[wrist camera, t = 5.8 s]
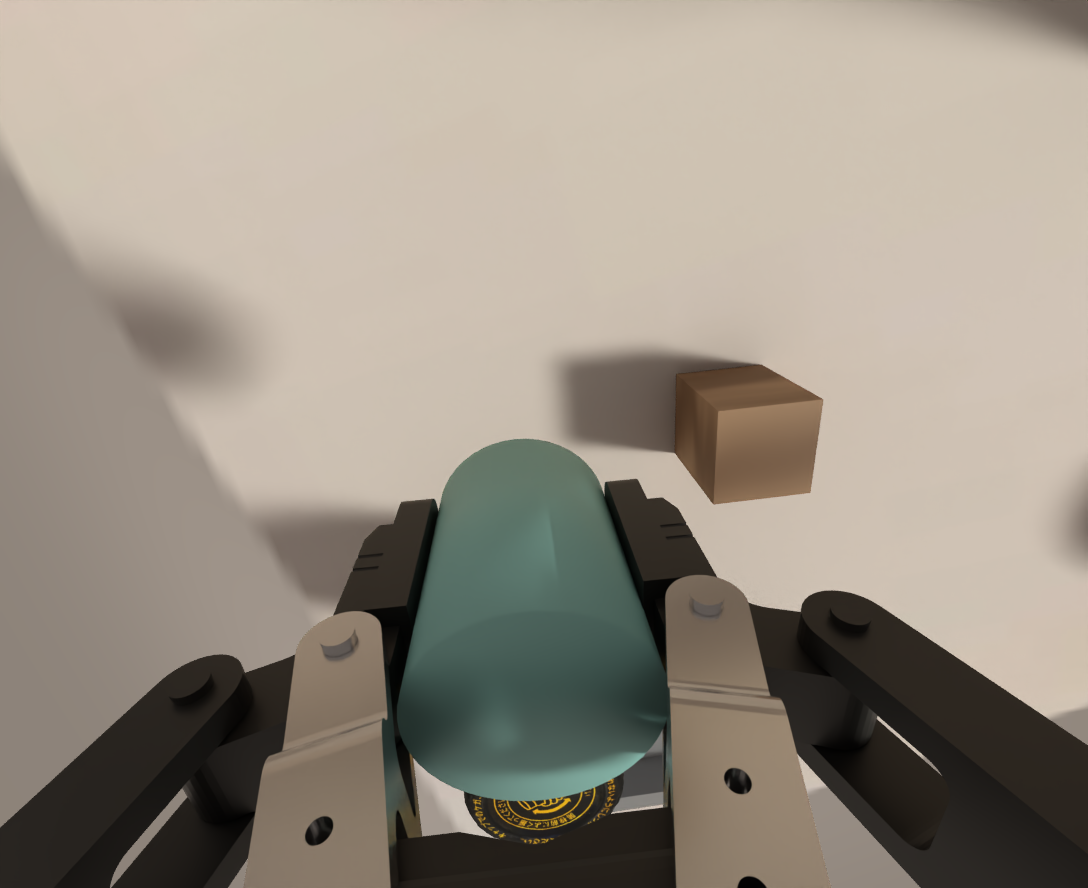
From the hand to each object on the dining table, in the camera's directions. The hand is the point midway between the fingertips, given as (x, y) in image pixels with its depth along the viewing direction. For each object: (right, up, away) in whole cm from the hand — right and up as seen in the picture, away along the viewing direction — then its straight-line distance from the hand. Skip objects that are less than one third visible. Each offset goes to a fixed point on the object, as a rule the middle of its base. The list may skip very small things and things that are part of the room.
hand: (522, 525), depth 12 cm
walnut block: (+9, +4, +13) cm, 16 cm away
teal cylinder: (0, 0, 0) cm, 1 cm away
